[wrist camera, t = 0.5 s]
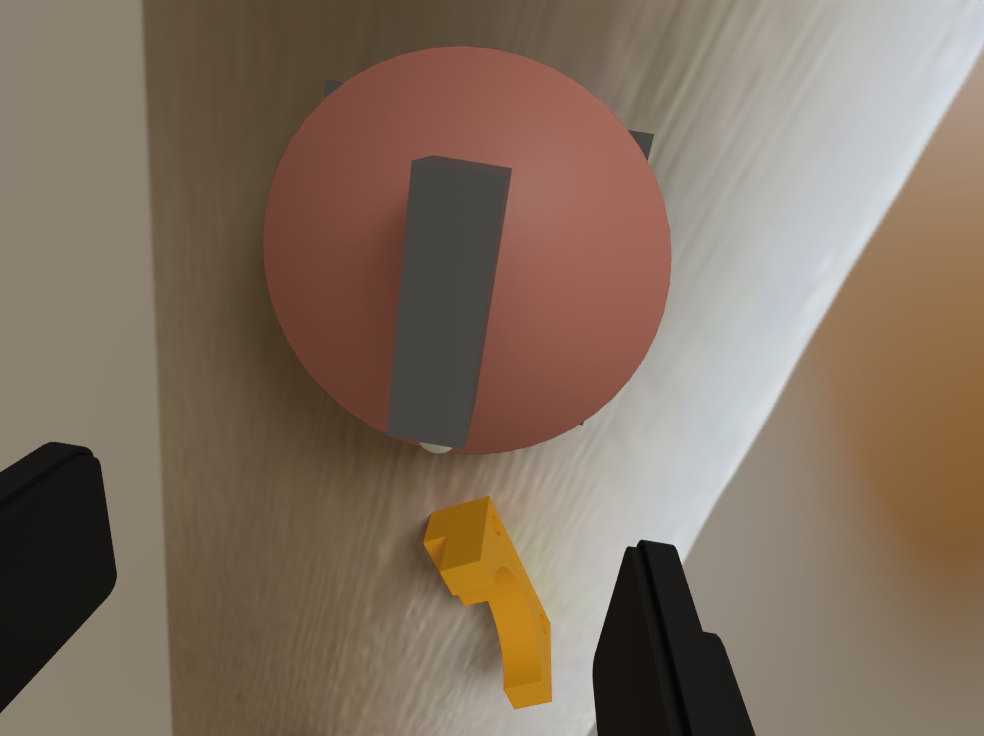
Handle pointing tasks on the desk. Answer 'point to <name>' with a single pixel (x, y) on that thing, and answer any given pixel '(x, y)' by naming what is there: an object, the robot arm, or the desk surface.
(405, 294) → the handwheel
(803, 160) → the desk surface
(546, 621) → the pipe clamp
